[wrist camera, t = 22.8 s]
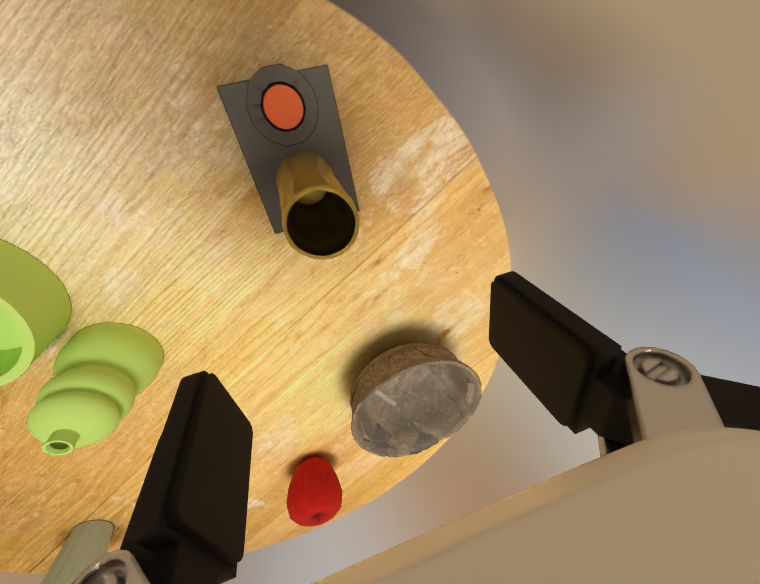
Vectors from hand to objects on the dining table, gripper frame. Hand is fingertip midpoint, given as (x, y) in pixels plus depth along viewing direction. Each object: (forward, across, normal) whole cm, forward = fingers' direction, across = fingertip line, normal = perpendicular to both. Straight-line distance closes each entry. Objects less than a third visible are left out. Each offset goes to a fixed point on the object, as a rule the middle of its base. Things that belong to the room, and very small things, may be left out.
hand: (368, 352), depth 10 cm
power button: (+26, 0, -7) cm, 27 cm away
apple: (+28, +15, +52) cm, 61 cm away
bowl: (+28, -6, +34) cm, 44 cm away
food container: (+28, +32, +8) cm, 44 cm away
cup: (+28, +52, +46) cm, 75 cm away
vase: (+27, 0, 0) cm, 27 cm away
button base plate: (+28, 0, -2) cm, 28 cm away
